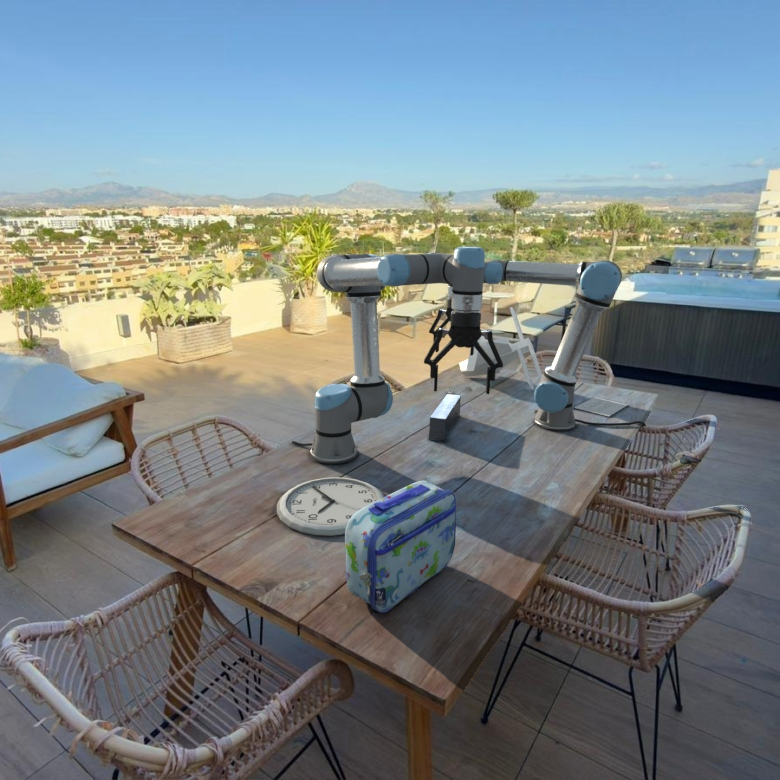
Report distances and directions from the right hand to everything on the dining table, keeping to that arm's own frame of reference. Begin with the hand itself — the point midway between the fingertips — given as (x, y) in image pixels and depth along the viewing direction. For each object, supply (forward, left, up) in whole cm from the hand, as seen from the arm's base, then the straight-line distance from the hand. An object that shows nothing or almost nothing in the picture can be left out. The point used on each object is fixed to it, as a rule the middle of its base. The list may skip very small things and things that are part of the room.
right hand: (454, 353), depth 202 cm
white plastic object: (-23, -53, -27) cm, 64 cm away
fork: (+1, -29, -27) cm, 40 cm away
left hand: (-2, +66, +5) cm, 66 cm away
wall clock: (+31, +74, -27) cm, 85 cm away
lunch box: (+9, +104, -27) cm, 108 cm away
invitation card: (-65, -25, -27) cm, 74 cm away
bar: (+2, +10, -27) cm, 29 cm away
